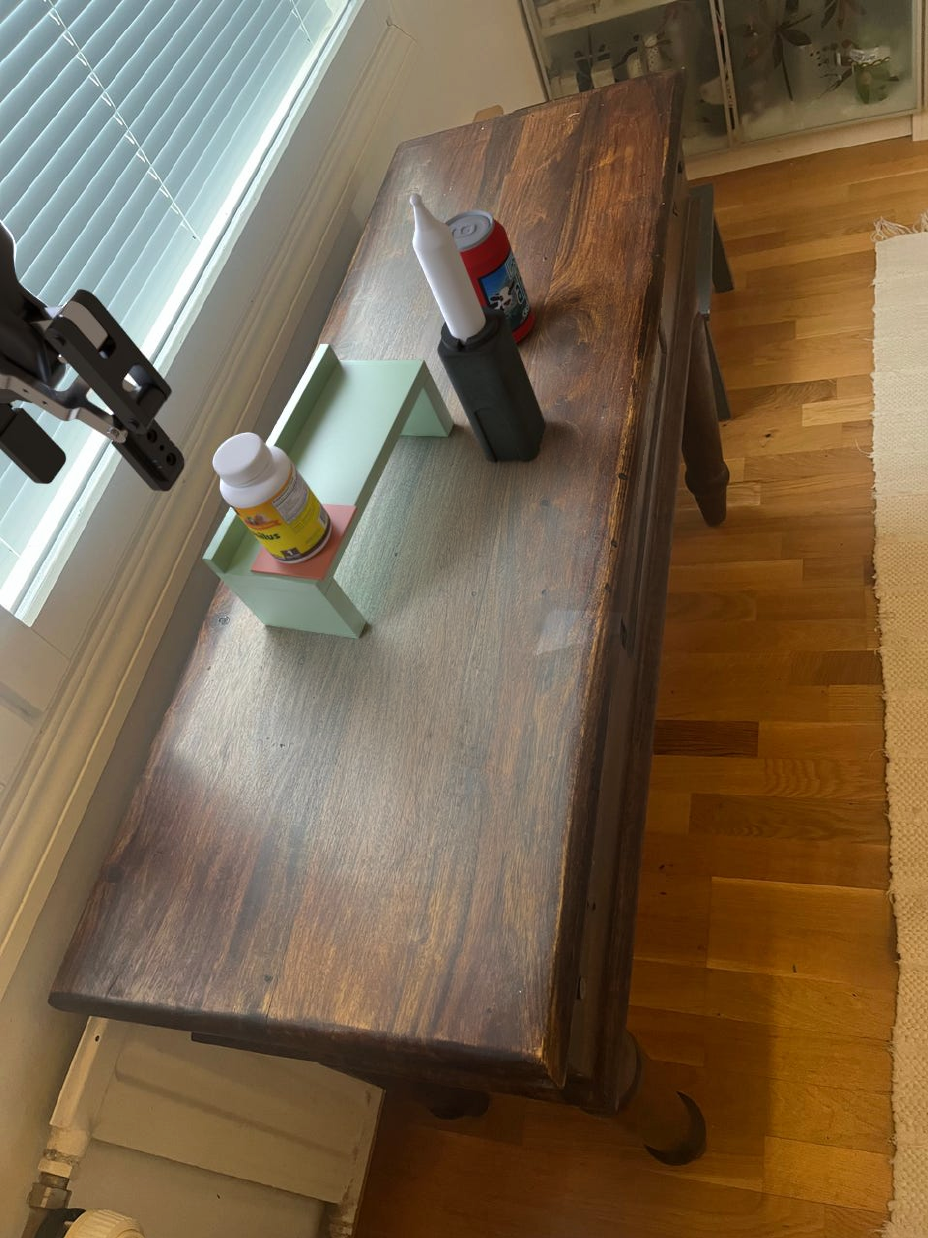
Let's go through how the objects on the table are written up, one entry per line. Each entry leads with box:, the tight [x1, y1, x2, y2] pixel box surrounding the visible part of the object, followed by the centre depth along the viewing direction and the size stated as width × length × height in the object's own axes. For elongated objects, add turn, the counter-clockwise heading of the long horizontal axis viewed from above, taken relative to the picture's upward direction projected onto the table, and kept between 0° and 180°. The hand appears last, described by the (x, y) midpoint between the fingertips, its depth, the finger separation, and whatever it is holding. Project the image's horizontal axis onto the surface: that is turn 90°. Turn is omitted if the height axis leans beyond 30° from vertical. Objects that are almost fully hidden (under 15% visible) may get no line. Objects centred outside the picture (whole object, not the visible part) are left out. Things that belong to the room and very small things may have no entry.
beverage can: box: [443, 209, 535, 344], centre depth 88 cm, size 7×7×12 cm
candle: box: [409, 192, 547, 464], centre depth 74 cm, size 5×5×25 cm
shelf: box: [201, 343, 455, 639], centre depth 81 cm, size 24×10×10 cm, turn 160°
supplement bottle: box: [212, 432, 332, 563], centre depth 70 cm, size 6×6×10 cm
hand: (111, 475), depth 48 cm, fingers open, 8 cm apart
